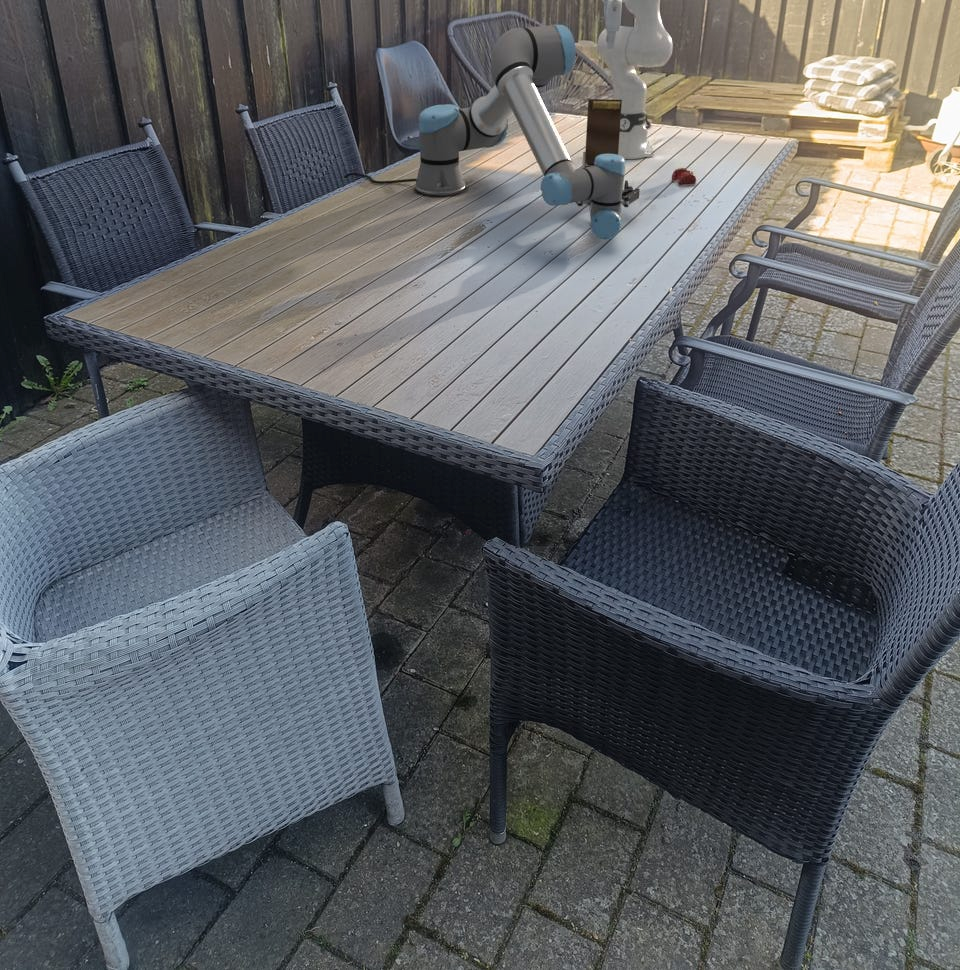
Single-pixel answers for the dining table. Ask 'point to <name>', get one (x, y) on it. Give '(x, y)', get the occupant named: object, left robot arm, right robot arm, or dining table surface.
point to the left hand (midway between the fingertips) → (601, 184)
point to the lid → (602, 128)
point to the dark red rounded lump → (684, 176)
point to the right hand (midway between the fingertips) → (609, 45)
